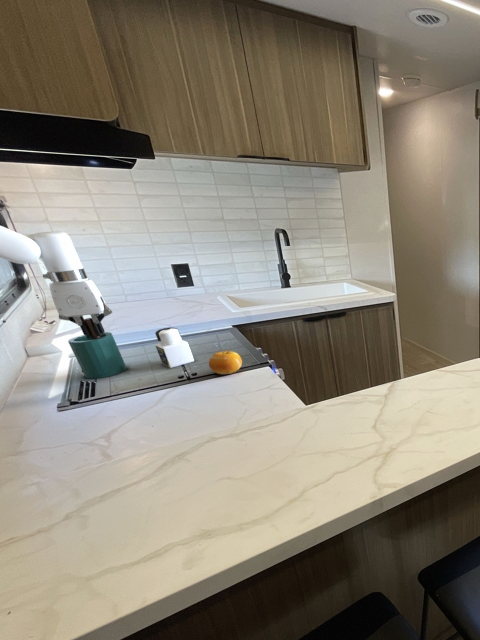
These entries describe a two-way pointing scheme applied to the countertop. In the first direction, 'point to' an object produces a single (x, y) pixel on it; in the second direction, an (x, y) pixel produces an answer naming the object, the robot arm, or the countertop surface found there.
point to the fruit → (225, 362)
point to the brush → (91, 327)
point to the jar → (97, 355)
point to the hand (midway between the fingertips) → (95, 335)
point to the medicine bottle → (172, 348)
